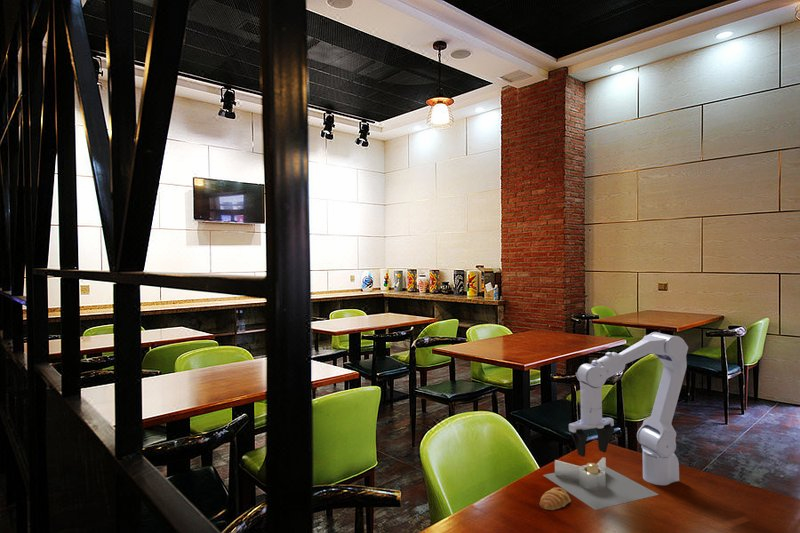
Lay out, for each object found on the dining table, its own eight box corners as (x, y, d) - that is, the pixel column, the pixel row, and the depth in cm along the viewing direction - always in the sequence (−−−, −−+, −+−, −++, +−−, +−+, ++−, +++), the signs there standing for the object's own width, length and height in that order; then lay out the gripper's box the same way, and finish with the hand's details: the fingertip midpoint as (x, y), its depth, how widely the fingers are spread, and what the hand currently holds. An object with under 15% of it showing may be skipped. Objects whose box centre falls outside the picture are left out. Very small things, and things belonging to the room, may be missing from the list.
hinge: (595, 466, 149) (594, 452, 149) (628, 484, 137) (627, 469, 137) (554, 474, 144) (553, 460, 144) (584, 494, 132) (584, 478, 132)
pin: (592, 482, 139) (592, 462, 139) (600, 486, 136) (600, 466, 136) (584, 484, 138) (584, 463, 138) (592, 488, 135) (592, 467, 135)
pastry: (556, 518, 122) (555, 503, 122) (532, 508, 127) (532, 494, 127) (572, 504, 129) (572, 490, 129) (550, 496, 134) (549, 482, 134)
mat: (600, 466, 152) (600, 463, 152) (658, 498, 131) (658, 494, 131) (542, 478, 144) (542, 475, 144) (595, 513, 124) (595, 509, 124)
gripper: (580, 413, 131) (581, 462, 131) (621, 407, 135) (622, 454, 136) (563, 406, 137) (564, 453, 137) (603, 400, 142) (604, 445, 142)
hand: (592, 453), depth 137 cm, fingers open, 7 cm apart
